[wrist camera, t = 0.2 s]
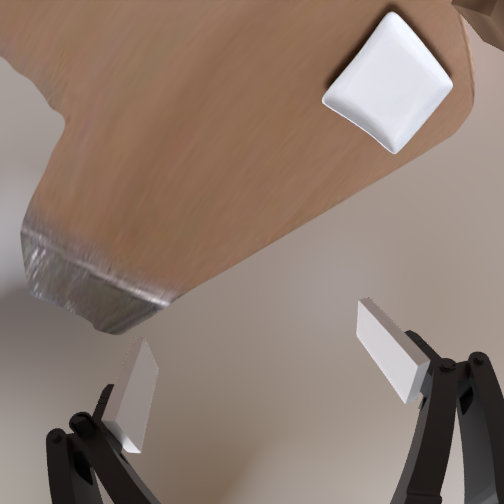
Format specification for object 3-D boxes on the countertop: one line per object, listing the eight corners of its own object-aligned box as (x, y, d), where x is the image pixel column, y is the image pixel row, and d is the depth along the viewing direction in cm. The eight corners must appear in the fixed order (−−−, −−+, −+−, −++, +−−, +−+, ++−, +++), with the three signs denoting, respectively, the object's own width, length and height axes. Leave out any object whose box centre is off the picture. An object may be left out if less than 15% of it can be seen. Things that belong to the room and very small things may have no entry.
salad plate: (445, 79, 35) (456, 86, 33) (387, 148, 48) (396, 157, 46) (380, 6, 25) (393, 8, 22) (311, 95, 38) (319, 102, 36)
